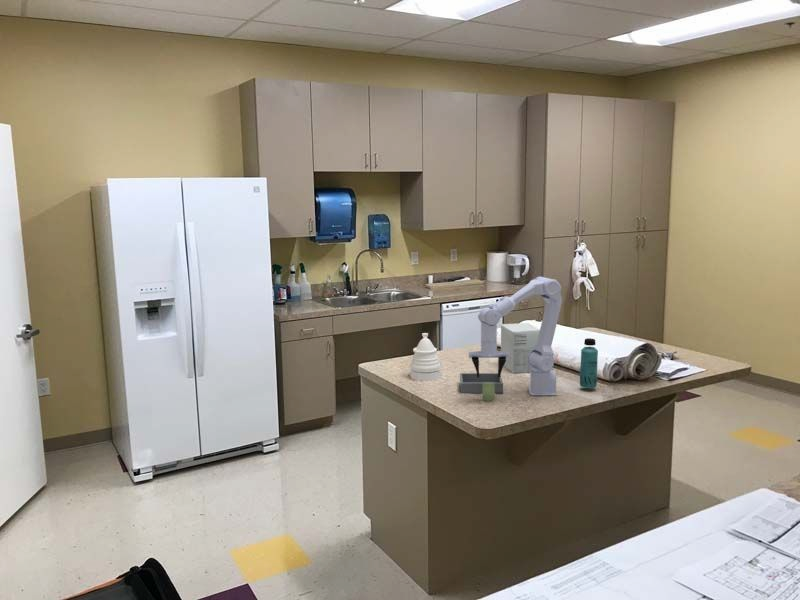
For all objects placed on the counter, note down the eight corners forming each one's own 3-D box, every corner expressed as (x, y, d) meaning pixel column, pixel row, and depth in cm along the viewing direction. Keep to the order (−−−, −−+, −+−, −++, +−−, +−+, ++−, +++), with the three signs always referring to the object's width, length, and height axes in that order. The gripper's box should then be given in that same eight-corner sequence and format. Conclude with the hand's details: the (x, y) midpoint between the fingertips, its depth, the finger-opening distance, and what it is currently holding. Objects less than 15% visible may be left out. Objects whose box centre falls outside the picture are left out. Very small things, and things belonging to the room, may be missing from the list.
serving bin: (499, 382, 262) (499, 373, 261) (503, 393, 248) (503, 383, 247) (459, 382, 263) (459, 373, 262) (460, 393, 249) (460, 383, 248)
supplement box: (542, 372, 276) (543, 330, 273) (512, 373, 274) (512, 331, 271) (528, 361, 293) (528, 322, 290) (499, 363, 291) (500, 323, 288)
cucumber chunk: (494, 397, 244) (494, 382, 243) (495, 401, 239) (495, 385, 238) (482, 397, 244) (482, 382, 243) (483, 401, 240) (483, 385, 238)
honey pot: (410, 372, 279) (409, 331, 276) (440, 372, 279) (439, 331, 276) (410, 381, 266) (410, 338, 263) (442, 380, 266) (441, 337, 263)
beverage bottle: (575, 388, 252) (577, 338, 249) (588, 386, 255) (589, 336, 252) (588, 393, 246) (589, 341, 243) (600, 390, 250) (602, 339, 246)
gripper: (469, 343, 234) (469, 379, 237) (509, 343, 233) (509, 379, 236) (468, 338, 241) (468, 374, 244) (507, 338, 240) (507, 374, 243)
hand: (488, 376), depth 240 cm, fingers open, 7 cm apart
